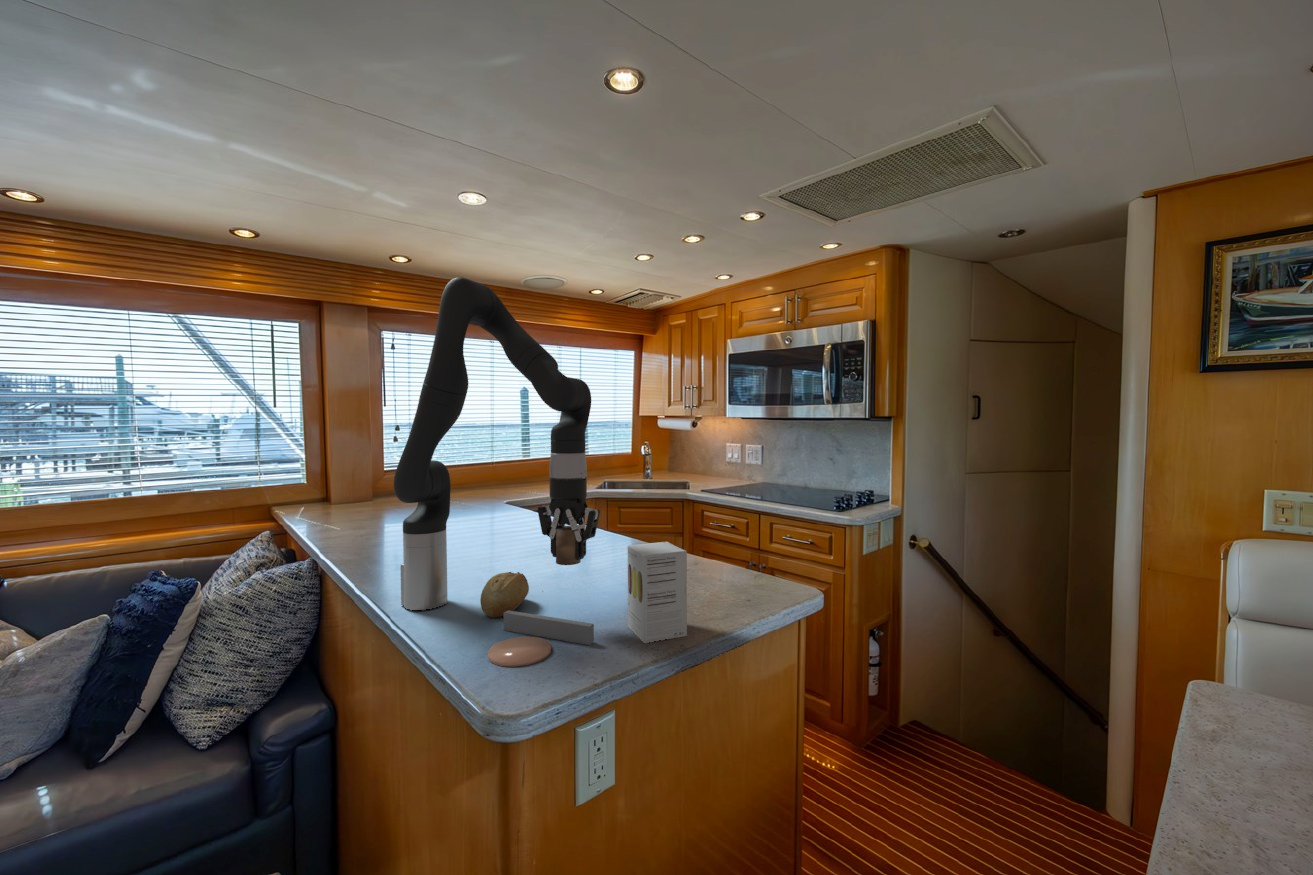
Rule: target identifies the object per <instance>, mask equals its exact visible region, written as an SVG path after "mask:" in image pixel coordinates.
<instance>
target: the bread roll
mask: <svg viewBox="0 0 1313 875" xmlns="http://www.w3.org/2000/svg"><path fill="white" fill-rule="evenodd" d="M529 590H530V586H529V582H528V579H527V577H526V576H525V575H524V574H523V573H520V572H519V571H517V572H516V573H514V572H511V571H508V572H502V573H501V572H500V573H497V574H495V575H493V576H491V578H489V580H488V581H487V582H486V583H485V585H484V586H483V588H482V590H481V594H480V607H481V610H482V612H483V614H484V615H486V616H487V617H490V618H491V619H492V618H493V619H495V618H497V619H498V618H502V617H503V613H504V612H506V611H508V610H509V611H515V610H516V609H517V608H518V607H519V606H520V605H521V604H522V602H523V601H525V599H526V598H527V596H528V594H529Z"/></svg>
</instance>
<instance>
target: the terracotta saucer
mask: <svg viewBox="0 0 1313 875" xmlns="http://www.w3.org/2000/svg"><path fill="white" fill-rule="evenodd" d="M551 652H552V644H551V642H550V641H549V640H547V639H545V638H543V637H539V636H518V637H511V638H508V639H504V640H502V641H499V642H496V643H495V644H493V645H491V647H490V648H488V651H487V659H488V661H489V662H490V663H491V664H493V665H496V666H498V667H500V666H501V667H507V668H509V667H510V668H511V667H512V668H513V667H522V666H528V665H532V664H536V663H538V662H540V661H543V660H544V659H546V658H547V657H549V655H550V654H551Z"/></svg>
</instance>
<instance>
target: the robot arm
mask: <svg viewBox="0 0 1313 875" xmlns="http://www.w3.org/2000/svg"><path fill="white" fill-rule="evenodd" d="M469 325H471V326H475V327H476V326H478V327H479V328H481V329H483V330H484V331H486V332H488V333H489V334H490V335H492V336H493V337H494V339H496V341H498V342H499V344H500V345H501V347H502V349H503V351H504V354H505V356H506V357H507V359H508V360H509V362H510V363H511V364H512V365H513V367H514V368H515V369H516V370H517V371H519V373H521V374H522V376H524V378H526V380H528V381H529V382H530V383H531V384H532V387H533V388H534V390H535V391H536V393H537V395H538V396H539V397H540V399H541V400H542V401H543V403H544V404H546V405H547V406H548V407H549V408H550V409H552V410H554V411H556V412H560V415H559V416H560V417H559V422H558V423H557V424H555V425H554V426H552V428H551V430H550V459H549V498H550V502H549V504H548V505H547V504H545V505H542V506H538V507H537V513H538V519H539V524H540V529H541V534H542V535H544V536H547V537H549V539H550V554H552V557H553V558H556V529H557V528H560V527H563V526H571V528H572V531H574V533H575V536H576V540H577V542H576V560H583V559H584V558H585V557H586V555H587V541H588V540H589V539H592V538H595V537H596V534H597V533H596V532H597V530H598V529H597V528H598V523H599V518H600V516H601V515H600V514H601V511H600V509H599V508H596V509H593V508H591V507H589V506H588V504H587V501H586V500H587V496H588V495H587V494H588V492H587V489H588V486H587V485H588V483H587V482H588V481H587V480H588V479H587V478H588V476H587V475H588V468H587V466H588V465H587V458H586V430H587V426H588V422H589V417H590V413H591V408H592V394H591V390H590V387H589V386H588V384H587V383H586V382H585V381H584V380H582V379H580V378H573V377H568V376H567V375H565V374H564V373H563V372H561V371H560V370H559V364H558V362H557V360H556V358H554V356H553V355H551V353H549V351H547V349H545V348H544V347H543V346H542V345H541V344H540V343H539V342H537V341H536V340H535V339H534V338H533V337H532V336H531V335H530V334H529V333H528V332H527V331H526V330H525V329H524V328H523V327H522V326H521V325H520V324H519V322H518V321H517V320H516V319H515V317H514V316H513V315H512V314H511V313H510V311H509V310H508V309H507V307H506V306H505V304H504V303H503V301H502V300H501V299H500V297H499V296H498V294H496V293H495V291H494V290H492V288H490V287H489V286H487V285H485V284H482V283H480V282H478V281H474V280H472V279H469V278H465V277H462V276H459V277H454V278H452V279H451V280H450V281H448V282H447V284H446V285H445V287H444V289H443V291H442V294H441V298H440V303H439V308H438V316H437V322H436V329H435V335H434V341H433V344H432V349H431V353H430V358H429V362H428V366H427V370H426V373H425V376H424V380H423V383H422V387H421V390H420V395H419V399H418V403H417V407H416V411H415V415H414V419H413V422H412V424H411V425H412V426H411V428H410V432H409V435H408V437H407V438H408V439H407V441H406V444H405V446H404V449H403V451H402V453H401V456H400V458H399V461H398V464H397V466H396V469H395V472H394V477H393V490H394V494H395V496H396V498H397V499H398V500H399V501H400V502H402V503H405V504H416V503H417V506H416V508H415V509H414V511H413V512H412V513H411V514H409V516H407V517H406V518H404V520H403V522H402V545H403V546H402V547H403V552H402V553H403V557H402V558H403V563H402V564H400V569H399V570H400V600H401V601H400V606H401V605H404V606H403V607H405V608H406V609H405V608H404V609H405V610H407V609H410V610H409V611H412V610H422V611H427V610H426V609H430V610H433V609H432V608H434V609H437V608H436V607H438V608H440V607H439V606H441V607H442V605H443V606H445V605H447V603H448V598H449V597H448V553H447V552H448V549H447V548H448V547H447V545H448V544H447V540H448V539H447V522H448V520H449V517H450V512H451V508H450V507H451V476H450V473H449V469H448V468H447V466H446V465H445V464H444V463H443V462H441V461H440V460H439V461H438V460H433V455H434V454H435V451H436V448H437V447H438V445H439V443H440V442H441V441H442V439H443V438H444V437H445V435H446V434H447V433H448V432H449V431H450V430H451V429H452V427H453V426H454V424H455V423H456V422H457V421H458V419H459V418H460V416H461V414H462V411H463V408H464V405H465V402H466V397H467V393H468V390H469V375H468V370H467V366H466V362H465V356H464V345H465V339H466V335H467V334H466V333H467V330H468V328H469ZM551 514H552V516H553V518H552V517H551ZM585 515H586V517H585ZM584 517H585V518H586V519H587V520H586V521H585V518H584ZM585 522H586V523H585ZM444 604H445V605H444Z"/></svg>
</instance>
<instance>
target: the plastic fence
mask: <svg viewBox="0 0 1313 875" xmlns="http://www.w3.org/2000/svg"><path fill="white" fill-rule="evenodd" d="M502 617H503V631H508V632H513V633H519V634H525V635H530V636H534V637H540V638H547V639H552V640H559V641H565V642H568V643H569V642H570V643H575V644H581V645H587V646H591V645H592V644H594V643H595V630H594V629H595V625H594V623H590V622H585V621H578V620H572V619H566V618H559V617H553V616H548V615H539V614H533V613H528V612H520V611H515V610H513V611H509V610H508V611H506V612H504V613H503V616H502Z"/></svg>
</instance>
